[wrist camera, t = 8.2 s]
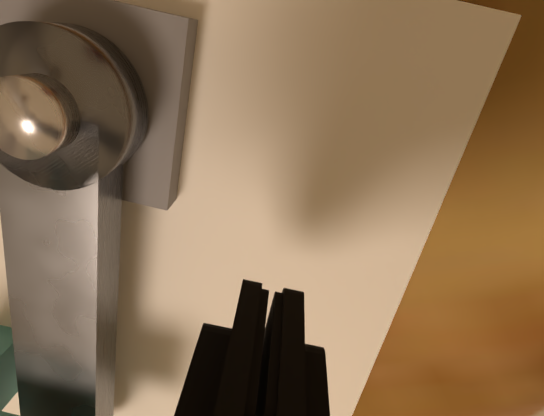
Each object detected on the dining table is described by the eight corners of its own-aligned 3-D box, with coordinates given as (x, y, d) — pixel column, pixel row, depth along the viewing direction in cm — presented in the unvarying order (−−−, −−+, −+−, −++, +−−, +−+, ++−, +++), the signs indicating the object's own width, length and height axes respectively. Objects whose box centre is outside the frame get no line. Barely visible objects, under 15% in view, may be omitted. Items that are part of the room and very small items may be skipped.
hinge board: (-67, -115, 12) (-384, -240, 7) (502, 16, 12) (662, 0, 7) (-10, 388, 21) (-125, 514, 16) (319, 467, 21) (321, 621, 16)
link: (-1, 8, 11) (-86, 0, 9) (152, 40, 11) (108, 41, 9) (33, 430, 18) (-8, 489, 16) (126, 451, 18) (99, 513, 16)
